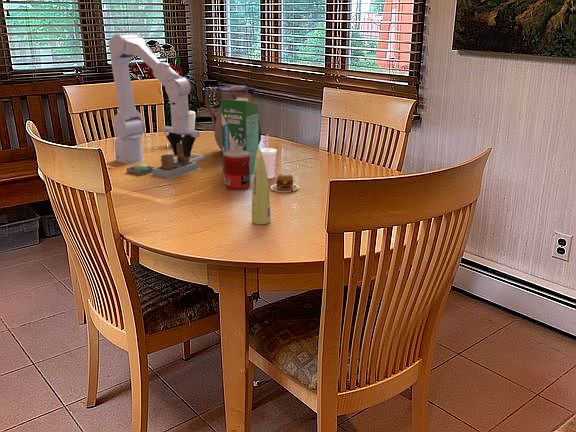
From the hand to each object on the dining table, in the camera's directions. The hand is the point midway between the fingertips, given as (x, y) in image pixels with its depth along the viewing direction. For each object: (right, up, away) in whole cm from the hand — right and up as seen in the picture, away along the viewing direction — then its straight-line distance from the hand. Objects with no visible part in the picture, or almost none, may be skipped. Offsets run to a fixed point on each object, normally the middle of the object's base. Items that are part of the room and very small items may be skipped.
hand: (182, 156), depth 194 cm
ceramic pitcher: (+15, +4, +27) cm, 31 cm away
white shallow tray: (-2, -1, +14) cm, 15 cm away
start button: (-13, -6, -2) cm, 15 cm away
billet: (0, -2, +1) cm, 2 cm away
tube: (+29, -22, -43) cm, 56 cm away
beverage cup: (+29, -7, -3) cm, 30 cm away
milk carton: (+20, -5, +3) cm, 21 cm away
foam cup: (-6, +9, +41) cm, 43 cm away
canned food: (+20, -11, -14) cm, 27 cm away
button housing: (-13, -6, -2) cm, 15 cm away
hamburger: (+35, -12, -15) cm, 40 cm away
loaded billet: (-4, -6, -4) cm, 8 cm away
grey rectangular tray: (-2, -6, -1) cm, 7 cm away
